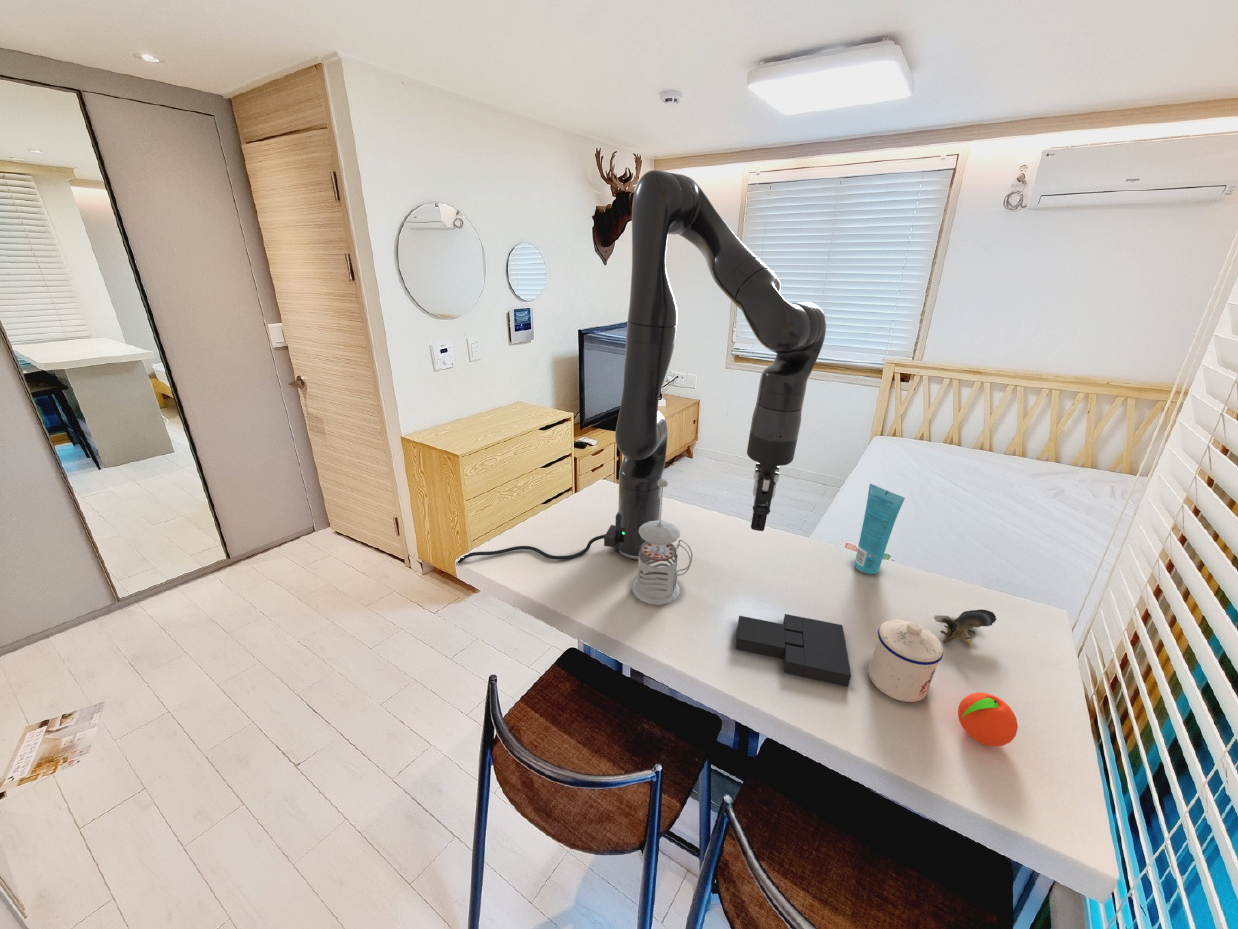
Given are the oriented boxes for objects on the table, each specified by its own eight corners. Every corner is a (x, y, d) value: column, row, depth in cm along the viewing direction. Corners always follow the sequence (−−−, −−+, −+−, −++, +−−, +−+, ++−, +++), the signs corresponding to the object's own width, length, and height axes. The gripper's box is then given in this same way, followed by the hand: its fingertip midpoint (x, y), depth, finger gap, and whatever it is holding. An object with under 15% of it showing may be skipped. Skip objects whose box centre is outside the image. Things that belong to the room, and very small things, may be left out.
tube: (887, 572, 109) (910, 493, 101) (877, 580, 107) (899, 500, 99) (855, 556, 115) (874, 480, 107) (844, 564, 112) (863, 487, 104)
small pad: (735, 649, 88) (737, 638, 87) (737, 626, 93) (739, 615, 92) (801, 663, 85) (803, 652, 84) (799, 638, 91) (801, 627, 90)
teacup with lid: (931, 713, 77) (953, 655, 72) (866, 692, 80) (883, 636, 75) (922, 658, 87) (942, 605, 82) (865, 642, 90) (880, 589, 85)
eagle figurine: (980, 659, 85) (1005, 631, 89) (962, 621, 85) (989, 595, 89) (936, 652, 92) (962, 626, 96) (920, 617, 92) (946, 592, 96)
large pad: (783, 672, 83) (785, 661, 82) (782, 624, 94) (784, 613, 93) (848, 687, 81) (851, 675, 80) (839, 635, 91) (842, 624, 90)
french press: (640, 570, 108) (645, 464, 98) (693, 582, 105) (704, 474, 94) (625, 598, 100) (629, 485, 89) (682, 612, 96) (693, 497, 86)
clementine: (971, 762, 70) (987, 727, 67) (934, 719, 76) (948, 685, 73) (1020, 754, 71) (1039, 719, 68) (980, 712, 77) (995, 678, 74)
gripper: (799, 450, 74) (780, 542, 81) (797, 420, 87) (781, 502, 94) (747, 443, 76) (733, 533, 83) (753, 414, 89) (740, 495, 95)
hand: (758, 517), depth 88 cm, fingers open, 8 cm apart
